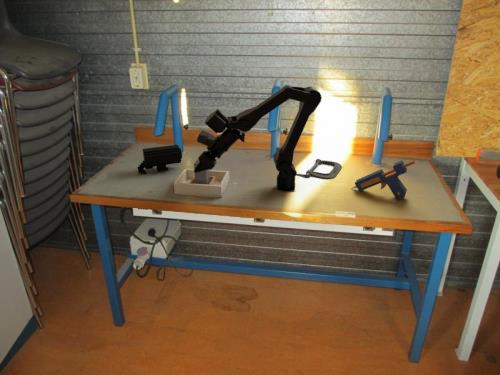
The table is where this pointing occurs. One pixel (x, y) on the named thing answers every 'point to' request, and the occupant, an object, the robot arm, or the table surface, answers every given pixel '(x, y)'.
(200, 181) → the plug
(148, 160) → the security camera
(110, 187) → the table surface
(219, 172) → the box
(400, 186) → the glue gun
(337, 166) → the c clamp
